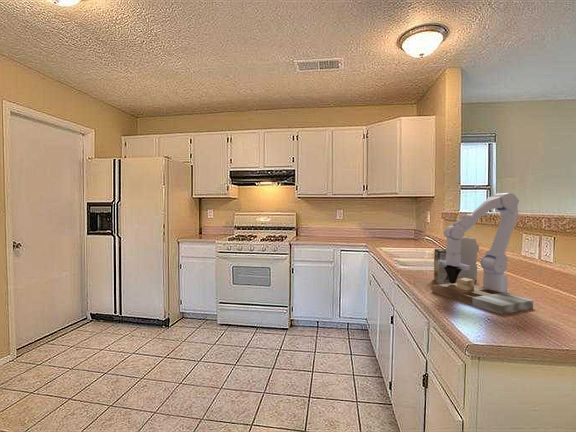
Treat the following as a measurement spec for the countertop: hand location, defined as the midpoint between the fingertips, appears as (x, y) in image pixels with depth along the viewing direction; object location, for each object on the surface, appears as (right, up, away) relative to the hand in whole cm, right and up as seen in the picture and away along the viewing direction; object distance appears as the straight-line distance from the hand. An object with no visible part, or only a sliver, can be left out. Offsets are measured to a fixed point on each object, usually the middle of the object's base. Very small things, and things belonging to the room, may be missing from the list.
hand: (452, 283), depth 138 cm
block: (+2, -1, -6) cm, 6 cm away
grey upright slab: (+20, -3, +25) cm, 32 cm away
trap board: (+5, -4, -11) cm, 13 cm away
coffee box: (+4, -3, +18) cm, 19 cm away
